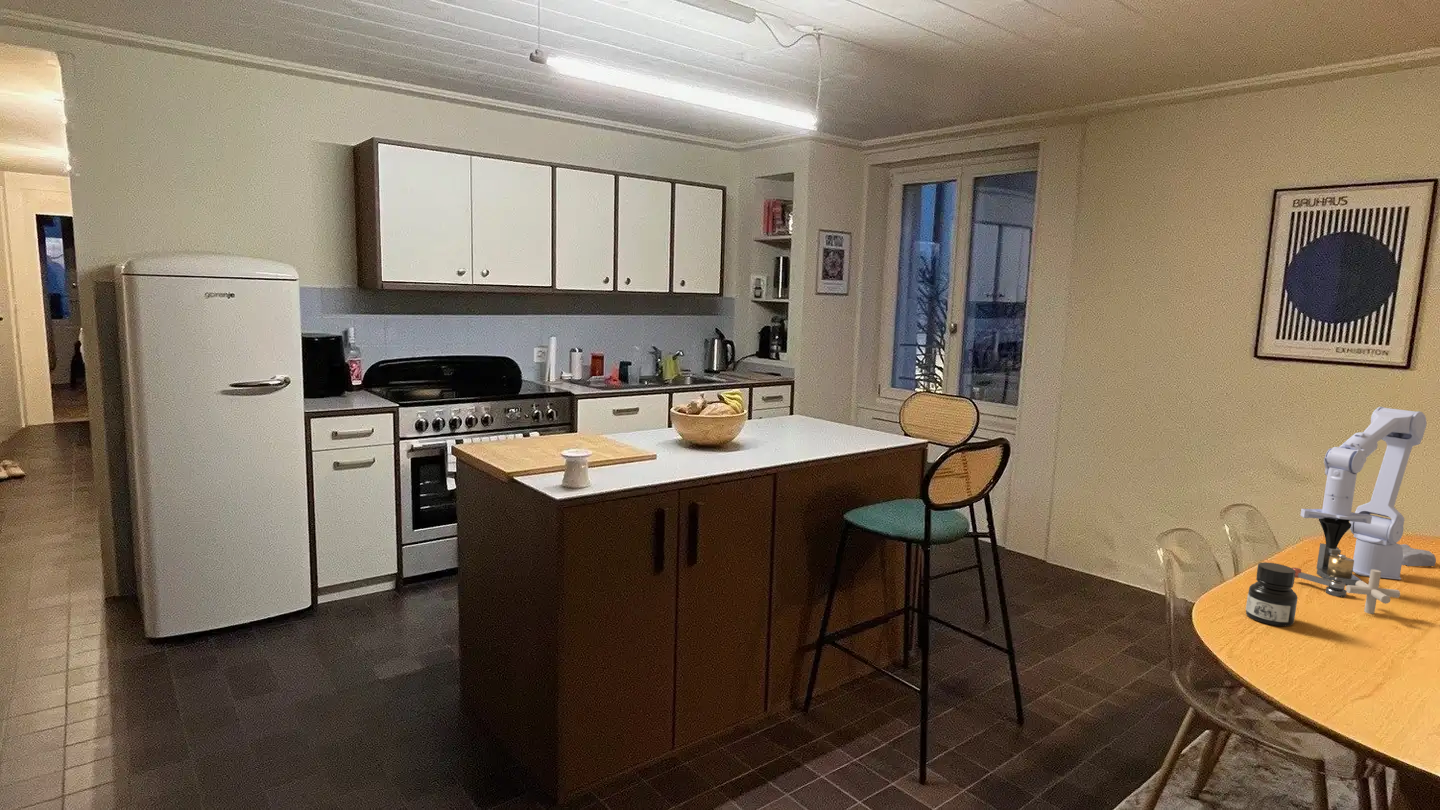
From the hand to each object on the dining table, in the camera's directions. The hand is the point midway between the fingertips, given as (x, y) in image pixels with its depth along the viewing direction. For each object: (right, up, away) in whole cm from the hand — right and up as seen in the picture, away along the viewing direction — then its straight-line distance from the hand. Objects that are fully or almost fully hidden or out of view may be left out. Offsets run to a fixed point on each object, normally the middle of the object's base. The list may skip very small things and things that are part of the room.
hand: (1330, 547), depth 199 cm
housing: (+5, -8, +4) cm, 10 cm away
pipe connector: (-5, -12, -17) cm, 21 cm away
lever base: (-4, -10, -6) cm, 12 cm away
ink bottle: (-32, -12, -24) cm, 41 cm away
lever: (-6, -8, -3) cm, 10 cm away
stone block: (+38, -8, +23) cm, 45 cm away
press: (+6, -9, +7) cm, 13 cm away
